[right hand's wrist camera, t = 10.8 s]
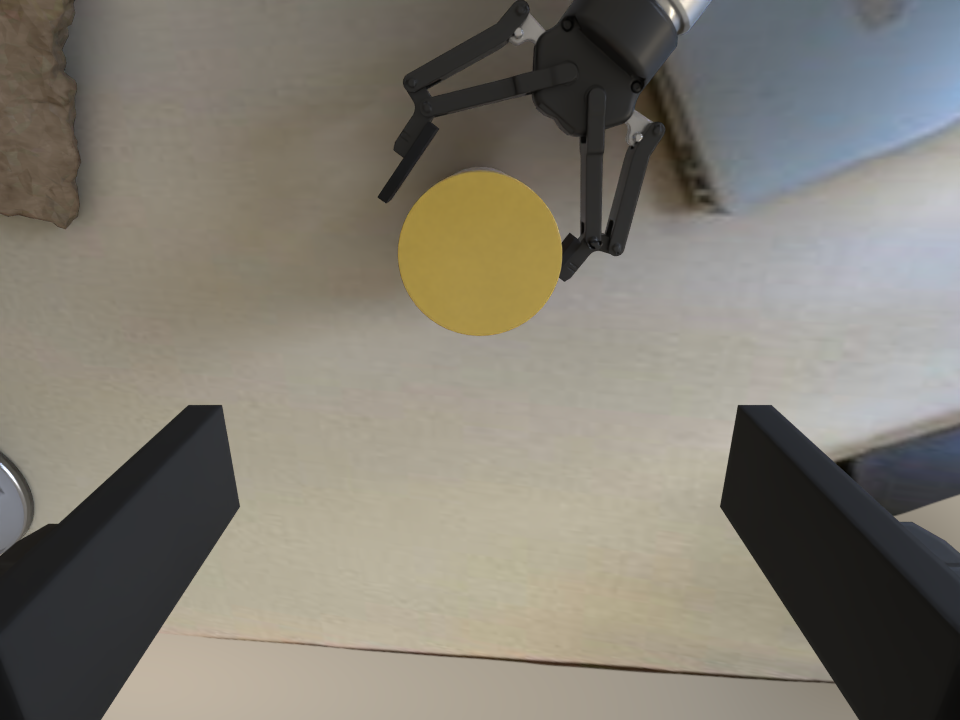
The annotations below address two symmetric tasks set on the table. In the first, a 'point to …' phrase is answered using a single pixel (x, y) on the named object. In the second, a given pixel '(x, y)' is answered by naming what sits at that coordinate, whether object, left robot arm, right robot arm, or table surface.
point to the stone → (37, 112)
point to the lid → (480, 253)
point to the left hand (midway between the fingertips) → (456, 252)
